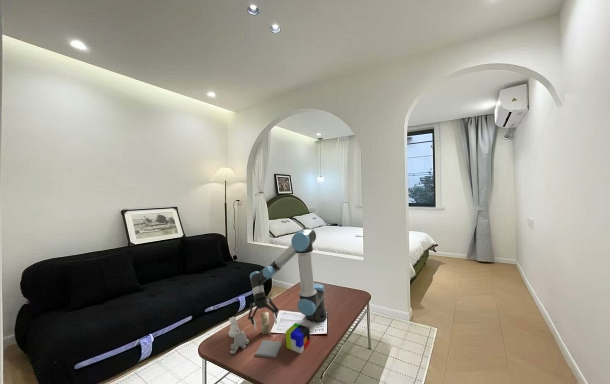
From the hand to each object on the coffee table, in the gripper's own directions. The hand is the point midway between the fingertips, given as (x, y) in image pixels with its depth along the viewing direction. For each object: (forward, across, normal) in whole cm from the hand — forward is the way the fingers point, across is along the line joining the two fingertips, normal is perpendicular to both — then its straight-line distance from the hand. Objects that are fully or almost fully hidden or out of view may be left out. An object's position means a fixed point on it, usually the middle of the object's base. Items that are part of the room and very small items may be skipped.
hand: (266, 326), depth 166 cm
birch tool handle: (+2, 0, -5) cm, 5 cm away
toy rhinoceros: (+8, +19, +1) cm, 21 cm away
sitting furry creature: (-2, +18, -9) cm, 20 cm away
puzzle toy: (+18, -14, +10) cm, 25 cm away
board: (+14, +3, +8) cm, 16 cm away
